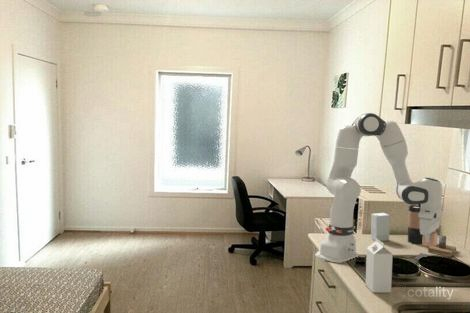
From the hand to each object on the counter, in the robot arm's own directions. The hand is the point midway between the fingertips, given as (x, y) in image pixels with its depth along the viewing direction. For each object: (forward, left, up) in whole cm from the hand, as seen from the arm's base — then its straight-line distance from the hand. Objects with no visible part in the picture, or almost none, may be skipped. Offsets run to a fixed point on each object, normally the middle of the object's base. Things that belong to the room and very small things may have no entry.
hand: (429, 240), depth 173 cm
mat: (0, 0, -9) cm, 9 cm away
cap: (0, 0, -2) cm, 2 cm away
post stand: (+17, -2, -9) cm, 19 cm away
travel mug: (+24, +13, -9) cm, 29 cm away
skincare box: (+15, +29, -9) cm, 34 cm away
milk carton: (-50, +5, -9) cm, 51 cm away
